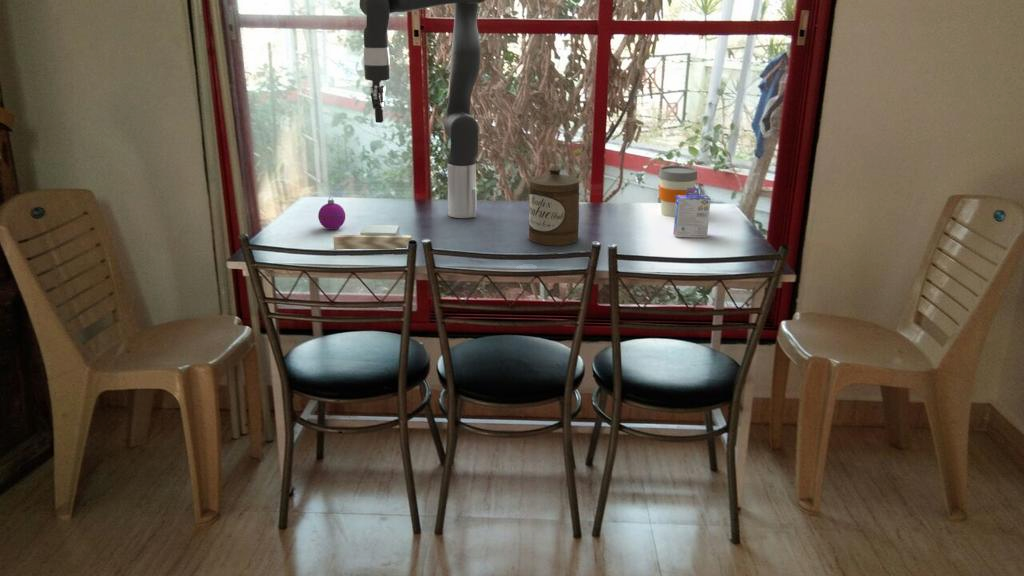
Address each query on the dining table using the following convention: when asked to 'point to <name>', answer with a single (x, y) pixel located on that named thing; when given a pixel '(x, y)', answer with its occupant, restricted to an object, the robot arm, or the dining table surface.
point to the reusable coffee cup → (674, 186)
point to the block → (380, 230)
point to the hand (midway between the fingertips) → (379, 122)
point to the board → (371, 241)
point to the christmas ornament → (331, 215)
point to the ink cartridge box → (691, 215)
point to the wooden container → (554, 208)
